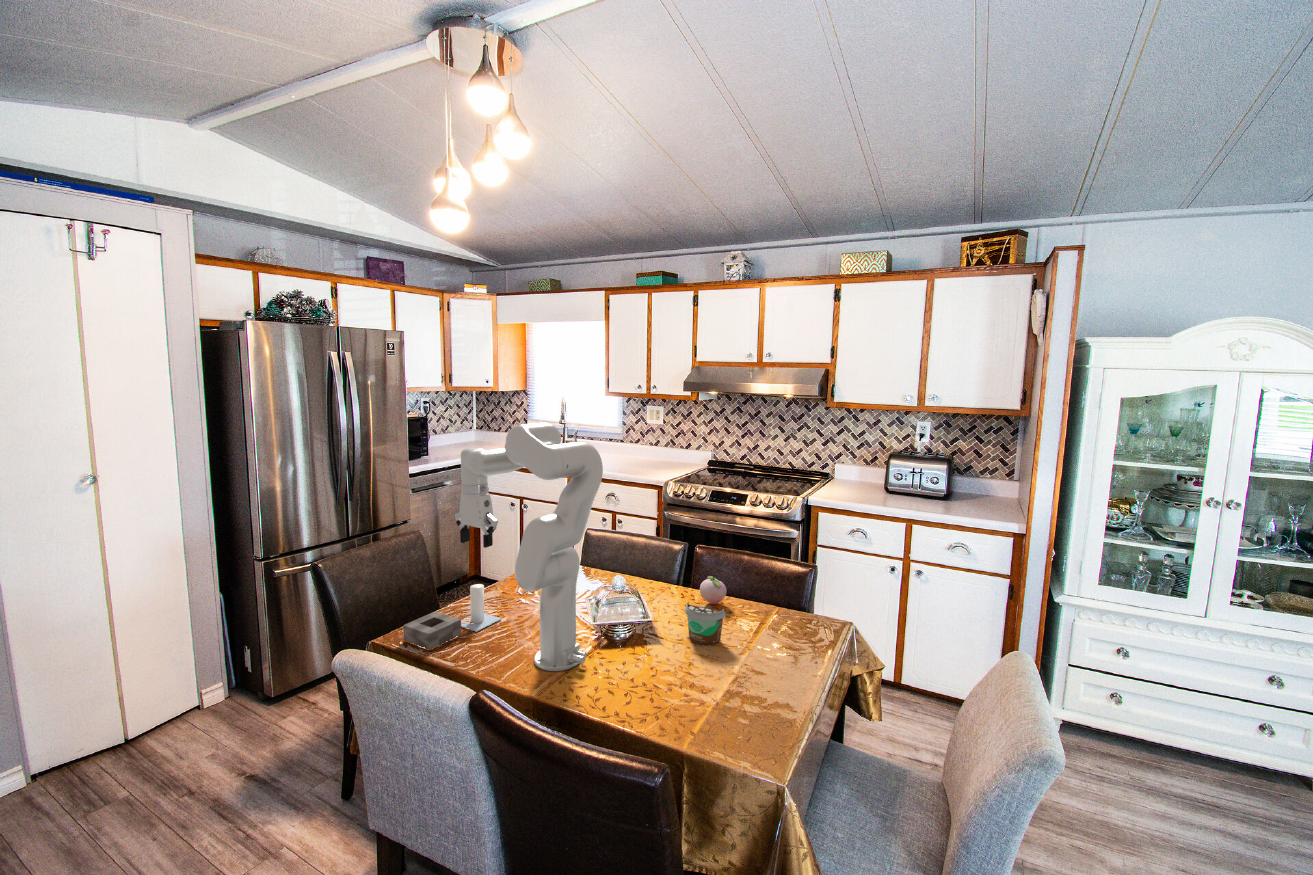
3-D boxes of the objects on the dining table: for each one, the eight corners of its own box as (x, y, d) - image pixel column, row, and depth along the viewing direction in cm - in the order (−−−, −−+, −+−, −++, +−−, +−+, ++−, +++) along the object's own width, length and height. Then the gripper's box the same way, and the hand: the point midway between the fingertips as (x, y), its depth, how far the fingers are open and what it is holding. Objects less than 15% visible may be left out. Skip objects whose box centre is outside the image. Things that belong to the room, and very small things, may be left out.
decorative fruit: (694, 602, 189) (694, 573, 188) (714, 597, 193) (714, 570, 192) (709, 612, 181) (710, 582, 180) (730, 607, 185) (730, 578, 184)
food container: (677, 641, 161) (677, 608, 160) (686, 633, 166) (686, 601, 165) (717, 651, 155) (717, 617, 154) (724, 642, 160) (725, 609, 159)
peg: (486, 619, 172) (486, 585, 171) (476, 624, 169) (476, 589, 168) (478, 617, 174) (477, 583, 173) (467, 621, 171) (467, 587, 170)
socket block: (461, 635, 163) (460, 619, 162) (429, 651, 153) (429, 634, 153) (436, 627, 168) (435, 611, 168) (404, 641, 159) (403, 625, 158)
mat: (501, 620, 173) (501, 618, 173) (476, 632, 165) (476, 630, 165) (478, 613, 178) (478, 611, 178) (453, 625, 170) (453, 623, 170)
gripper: (505, 489, 167) (506, 545, 168) (464, 484, 175) (466, 537, 177) (486, 494, 160) (487, 551, 162) (445, 488, 168) (447, 543, 170)
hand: (476, 544), depth 169 cm, fingers open, 9 cm apart
